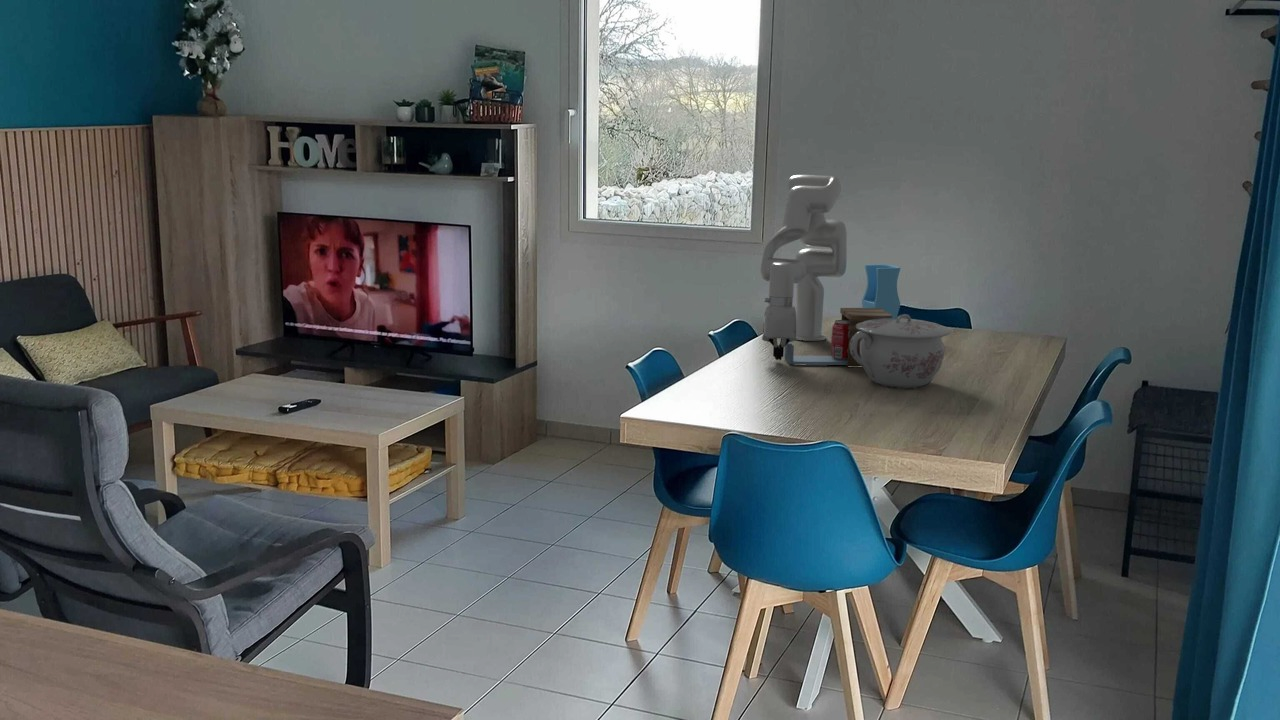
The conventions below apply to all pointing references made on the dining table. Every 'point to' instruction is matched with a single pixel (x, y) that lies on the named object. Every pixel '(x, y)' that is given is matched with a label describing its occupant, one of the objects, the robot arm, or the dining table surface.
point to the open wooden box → (855, 317)
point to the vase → (882, 288)
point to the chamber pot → (899, 350)
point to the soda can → (840, 339)
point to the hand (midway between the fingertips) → (778, 358)
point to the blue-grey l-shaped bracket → (810, 358)
